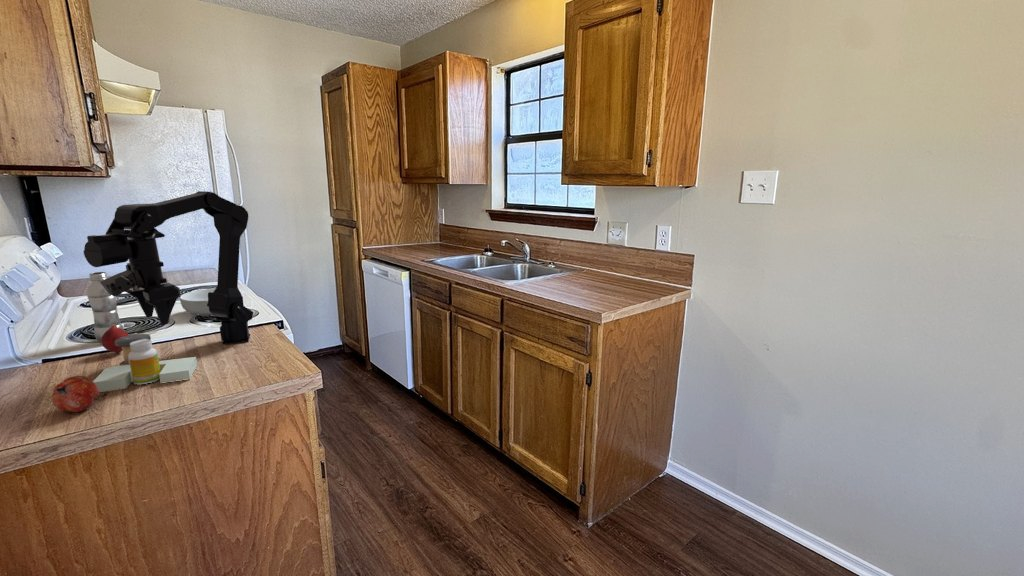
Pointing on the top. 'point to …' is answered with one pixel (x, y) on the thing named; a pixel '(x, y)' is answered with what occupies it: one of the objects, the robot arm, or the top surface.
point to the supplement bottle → (143, 362)
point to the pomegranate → (75, 394)
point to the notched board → (169, 372)
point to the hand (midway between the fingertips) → (156, 320)
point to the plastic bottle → (102, 305)
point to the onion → (113, 338)
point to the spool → (125, 345)
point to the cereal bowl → (196, 302)
